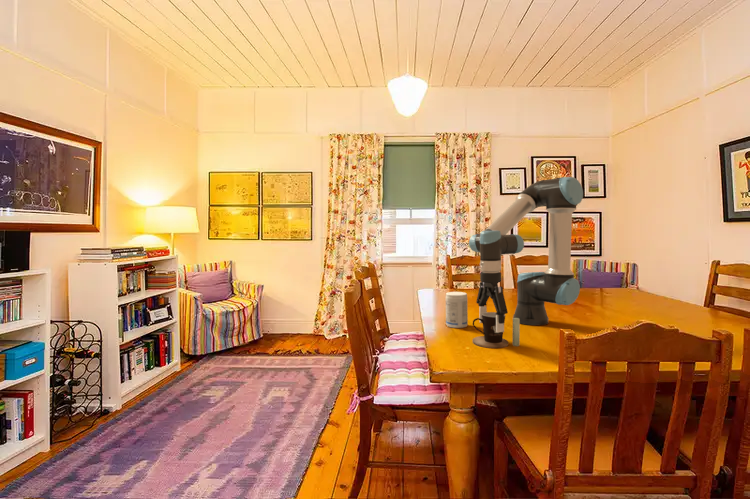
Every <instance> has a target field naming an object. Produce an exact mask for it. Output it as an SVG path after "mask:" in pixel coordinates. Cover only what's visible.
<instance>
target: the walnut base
mask: <svg viewBox="0 0 750 499" xmlns="http://www.w3.org/2000/svg"><path fill="white" fill-rule="evenodd" d="M472 344H473V345H475V346H477V347H482V348H487V349H502V348H506V347H508V346H509V341H508V340H507V339H505V338H502V342H501V343H490V342H486V341H485V339H484V335H483V336H482V335H480V336H476V337H474V338H473V337H472Z"/></svg>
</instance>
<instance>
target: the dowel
mask: <svg viewBox="0 0 750 499" xmlns="http://www.w3.org/2000/svg"><path fill="white" fill-rule="evenodd" d="M520 326H521V324H520V319H519V318H513V317H512V346H513V347H519V346H520V332H521V331H520V330H521V328H520Z"/></svg>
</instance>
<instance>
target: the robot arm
mask: <svg viewBox="0 0 750 499" xmlns="http://www.w3.org/2000/svg"><path fill="white" fill-rule="evenodd" d="M583 198H584V189H583V186H582V184H581V182H580V181H579V180H578V179H577V178H575V177H573V176H567V177H566V176H565V177H564V176H563V177H562V176H561V177H556V178H550V179H543V180H541V179H540V180H539V181H536V182H534V183H531V184H530V185H529V186H527V187H525V189H523V190H522V191H521V192H519V194H518V195H516V197H515V201H513V203H511V204H510V206H508V207H507V209H505V210H504V211H503V212H502V213H501V214H500V215H499V216H498V217H497V218H496V219H494V220H493V222H492V223H491V224H489V226H488V227H487V228H486V229H483V230H482V231H481V232H480V234H479V233H477V234H473V235H471V236H470V238H469V241H468V245H469V249H470V250H471V251H472V252H473V253H474V252H476V253H479V254H480V255H479V256H480V257H479V259H480V262H479V266H480V269H479V270H480V274H479V276H480V277H479V278H480V282H479V287H478V288H479V289H478V292H477V297H476V302H475V303H476V304H478V306H479V308H478V309H479V312H478V313H479V316H478V318H480V319H482V313H485V312H488V310H487V309H488V308H487V306H488V305H487V303H488V300H489V299H491V300H492V303H493V305H494V308H495V312H497V313H496V332H503V333H504V332H505V323H504V314H505V315H506V314H508V312H509V311H508V308H507V304H506V299H505V295H504V288H503V286H499V285H498V284H499V283H501V282H502V273H501V271H502V255H515V254H519V253H521V252H522V251H523V250H524V247H525V240H524V239H523V237H522V236H521V235H519V234H512V233H511V234H508V233H509V232H510V231H511V230H512V229H513V228H514V227H515V226H516V225H517V224H519V222H520V221H521V220H522V219H523V218H524V217H526V215H527V214H528V213H532V212H534V211H535V210H536V209H538V208H540V207H545V210H546V211H547V212H548V213H549V230H548V231H549V233H548V258H547V259H548V261H547V263H548V264H547V265H548V266H547V269H546V270H545V271H530V272H521V273H518V275H517V281H516V283H517V284H516V286H517V287H516V288H517V289H516V290H517V294H516V295H517V302H516V303H517V304H516V307H515V311H514V313H513V315H512V319H513V318H519V319H520V325H521V324H522V325H527V326H546V325H547V324H549V316H548V313H547V310H546V307H545V303H551V304H555V305H562V306H571V305H573V303H575V302H576V300H578V297H579V294H580V290H581V286H580V285H581V284H580V282H579V280H578V279H576V278H575V273H574V272H573V271H572V270H571V257H572V256H571V253H572V252H571V250H572V228H573V226H572V222H573V213H574V212H575V211H576V210H577V205H579V204H580V203H582V201H583ZM479 323H480V324H483V323H482V322H481V320H479Z"/></svg>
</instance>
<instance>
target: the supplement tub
mask: <svg viewBox="0 0 750 499" xmlns="http://www.w3.org/2000/svg"><path fill="white" fill-rule="evenodd" d="M468 316H469V315H468V294H467V293H466V292H464V291H463V292H462V291H449V292H446V293H445V325H446V326H447V327H448V328H451V329H452V328H454V329H462V328H463V329H464V328H467V326H468V325H469V324H468V320H469V318H468Z"/></svg>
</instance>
